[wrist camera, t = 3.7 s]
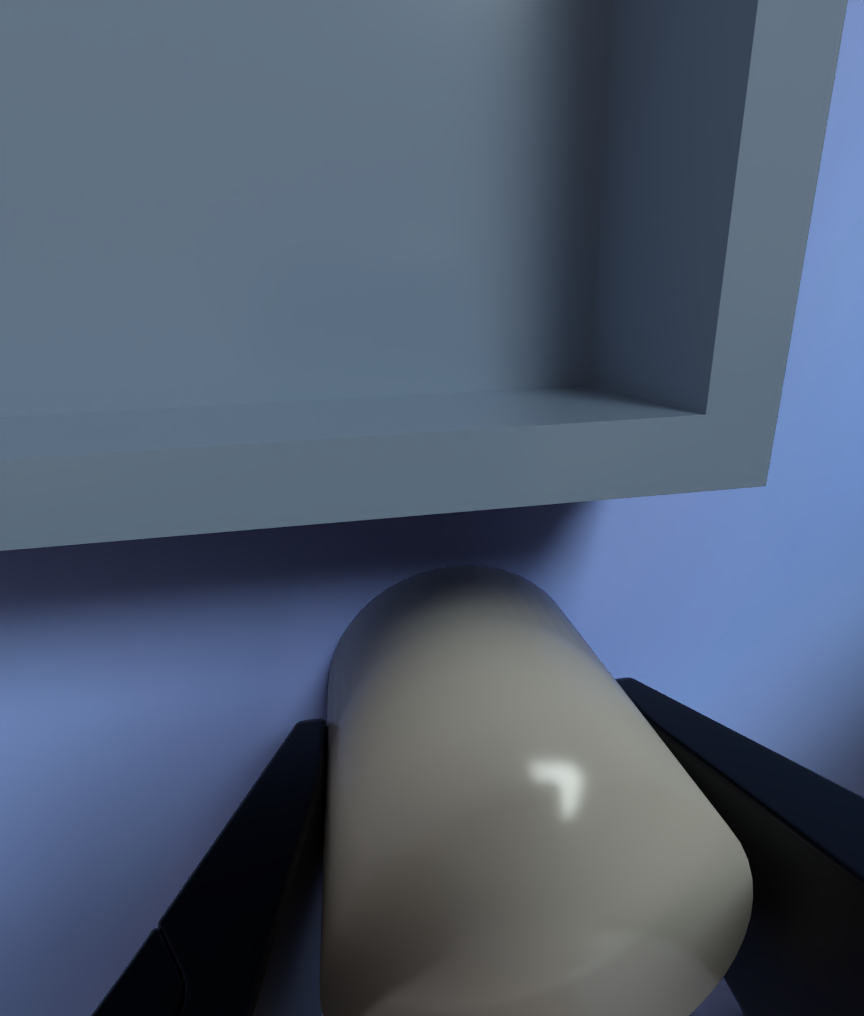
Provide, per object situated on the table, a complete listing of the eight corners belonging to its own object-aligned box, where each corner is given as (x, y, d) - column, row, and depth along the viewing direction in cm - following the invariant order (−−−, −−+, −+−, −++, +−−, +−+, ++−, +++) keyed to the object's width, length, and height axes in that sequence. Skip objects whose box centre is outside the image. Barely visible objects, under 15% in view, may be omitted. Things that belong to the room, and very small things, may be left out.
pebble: (570, 763, 11) (721, 1050, 6) (340, 798, 10) (341, 1142, 6) (582, 552, 9) (786, 746, 5) (315, 579, 9) (294, 824, 4)
